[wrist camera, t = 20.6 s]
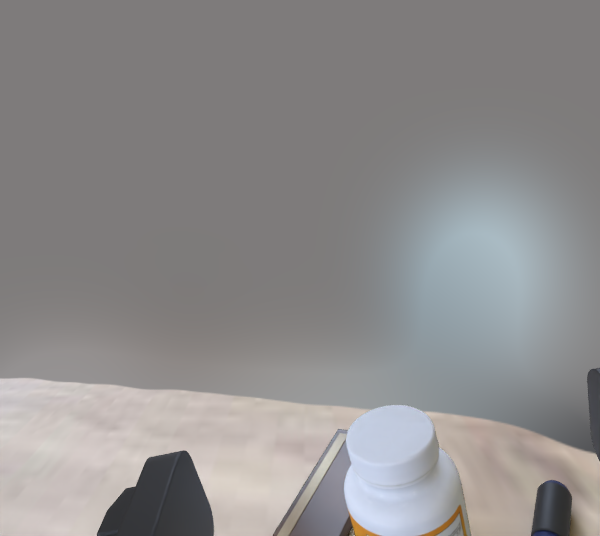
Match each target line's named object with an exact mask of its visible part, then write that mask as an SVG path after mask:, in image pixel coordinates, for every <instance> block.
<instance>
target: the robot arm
mask: <svg viewBox="0 0 600 536" xmlns="http://www.w3.org/2000/svg"><path fill="white" fill-rule="evenodd" d="M587 383H588V398H589V413H590V429H591V438H592V442H593V446H594V449H595V452H596V454H597V457H598V459H599V461H600V368H596V369H591V370H590V371H589V373H588V377H587ZM213 535H214V525H213V516H212V511H211V507H210V505H209V502H208V499H207V497H206V494H205V492H204V489H203V487H202V484H201V482H200V479H199V477H198V474H197V471H196V469H195V466H194V464H193V461H192V459H191V457H190V455H189V453H188V452H187V451H179V452H174V453H169V454H164V455H159V456H154V457H150V458H148V459H147V461H146V462H145V465H144V467H143V470H142V472H141V475H140V477H139V480H138V482H137V485H136V487H131V488H126V489H125V490H124V491H123V493H122V494H121V495H120V496H119V497H118V499H117V500H116V501H115V502H114V503H113V504H112V506H111V507H110V508H109V509H108V510H107V512H106V515H105V517H104V519H103V521H102V524H101V526H100V528H99V531H98V533H97V536H213Z"/></svg>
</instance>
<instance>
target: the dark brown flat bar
mask: <svg viewBox="0 0 600 536" xmlns="http://www.w3.org/2000/svg"><path fill="white" fill-rule="evenodd" d="M347 433H348V430H342V429H338V431H337V432H336V434H335V435H334V437H333V439H332V440H331V442H330V443H329V445H328V447H327V448H326V450H325V452H324V453H323V455H322V456H321V458H320V460H319V461H318V463H317V464H316V466H315V468H314V469H313V471H312V473H311V474H310V476H309V477H308V479H307V481H306V482H305V484H304V485H303V487H302V489H301V490H300V492H299V494H298V495H297V497H296V498H295V500H294V502H293V503H292V505H291V507H290V508H289V510H288V511H287V513H286V515H285V516H284V518H283V519H282V521H281V523H280V524H279V526H278V528H277V529H276V531H275V532H274V534H273V536H348V534H349V531H350V529H351V527H352V522H351V519H350V515H349V512H348V508H347V504H346V500H345V494H344V483H345V478H346V474H347V472H348V469H349V468H350V466H351V461H350V457H349V454H348V449H347V445H346V437H347Z"/></svg>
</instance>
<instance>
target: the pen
mask: <svg viewBox="0 0 600 536" xmlns="http://www.w3.org/2000/svg"><path fill="white" fill-rule="evenodd" d="M571 505H572V496H571V494H570V492H569V490H568V489H567V488H566V486H565V485H563V484H562V483H560V482H558V481H555V480H550V481H546V482H544V483H543V484H541V485H540V486H539V487H538V490H537V497H536V504H535V511H534V518H533V525H532V532H531V536H569V532H570V519H571Z"/></svg>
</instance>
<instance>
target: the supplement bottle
mask: <svg viewBox="0 0 600 536" xmlns="http://www.w3.org/2000/svg"><path fill="white" fill-rule="evenodd" d="M346 445H347V449H348V454H349V457H350V461H351V466H350V468H349V469H348V472H347V474H346V478H345V483H344V494H345V500H346V504H347V508H348V512H349V515H350V519H351V522H352V525H353V529H354V532H355V536H471V532H470V526H469V521H468V516H467V510H466V505H465V500H464V494H463V489H462V484H461V480H460V476H459V473H458V470H457V468H456V466H455V464H454V462H453V461H452V459H451V458H450V457H449V456H448V455H447V454H446V453H445V452H444V451H443V450H442V449H441V448H439V444H438V440H437V437H436V432H435V428H434V425H433V422H432V421H431V419H430V418H429V417H428V416H427V415H426V414H425V413H424V412H422V411H421V410H419V409H416V408H413V407H410V406H404V405H389V406H383V407H379V408H376V409H373V410H371V411H369V412H367V413H365V414H363V415H362V416H360V417H359V418H358V419H357V420H356V421H355V422H354V423H353V424H352V425H351V426H350V428H349V430H348V433H347V437H346Z"/></svg>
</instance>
